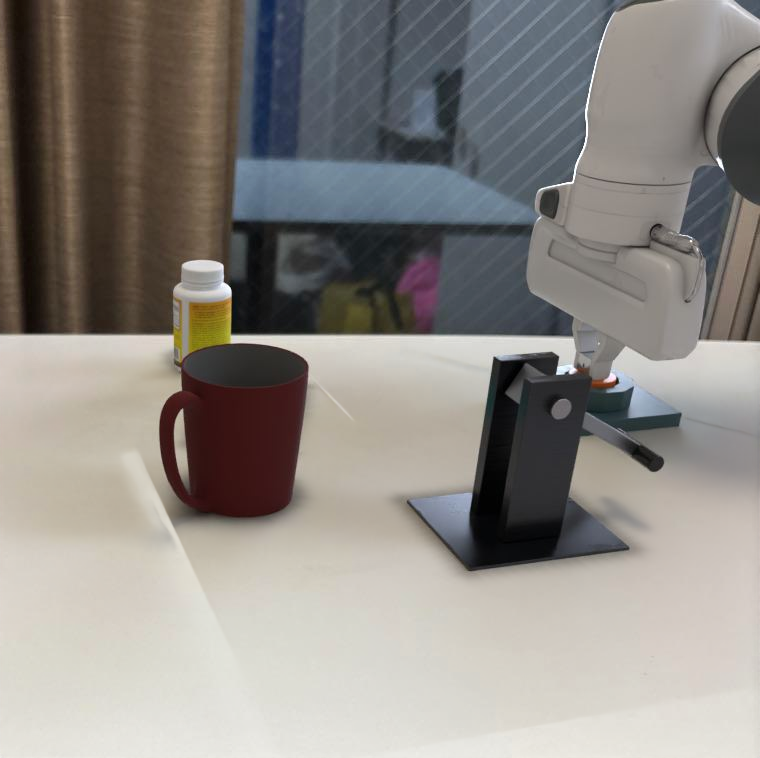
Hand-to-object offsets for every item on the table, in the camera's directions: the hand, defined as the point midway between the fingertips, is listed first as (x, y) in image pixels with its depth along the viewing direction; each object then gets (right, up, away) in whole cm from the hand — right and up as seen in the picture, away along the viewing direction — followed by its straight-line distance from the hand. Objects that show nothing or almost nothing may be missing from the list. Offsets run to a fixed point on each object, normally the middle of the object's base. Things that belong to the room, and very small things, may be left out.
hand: (590, 374), depth 91 cm
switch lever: (-8, -7, -20) cm, 22 cm away
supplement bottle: (-34, +2, +12) cm, 36 cm away
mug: (-32, -13, -14) cm, 37 cm away
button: (0, -2, +1) cm, 2 cm away
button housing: (0, -4, +2) cm, 4 cm away
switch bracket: (-11, -14, -17) cm, 25 cm away
